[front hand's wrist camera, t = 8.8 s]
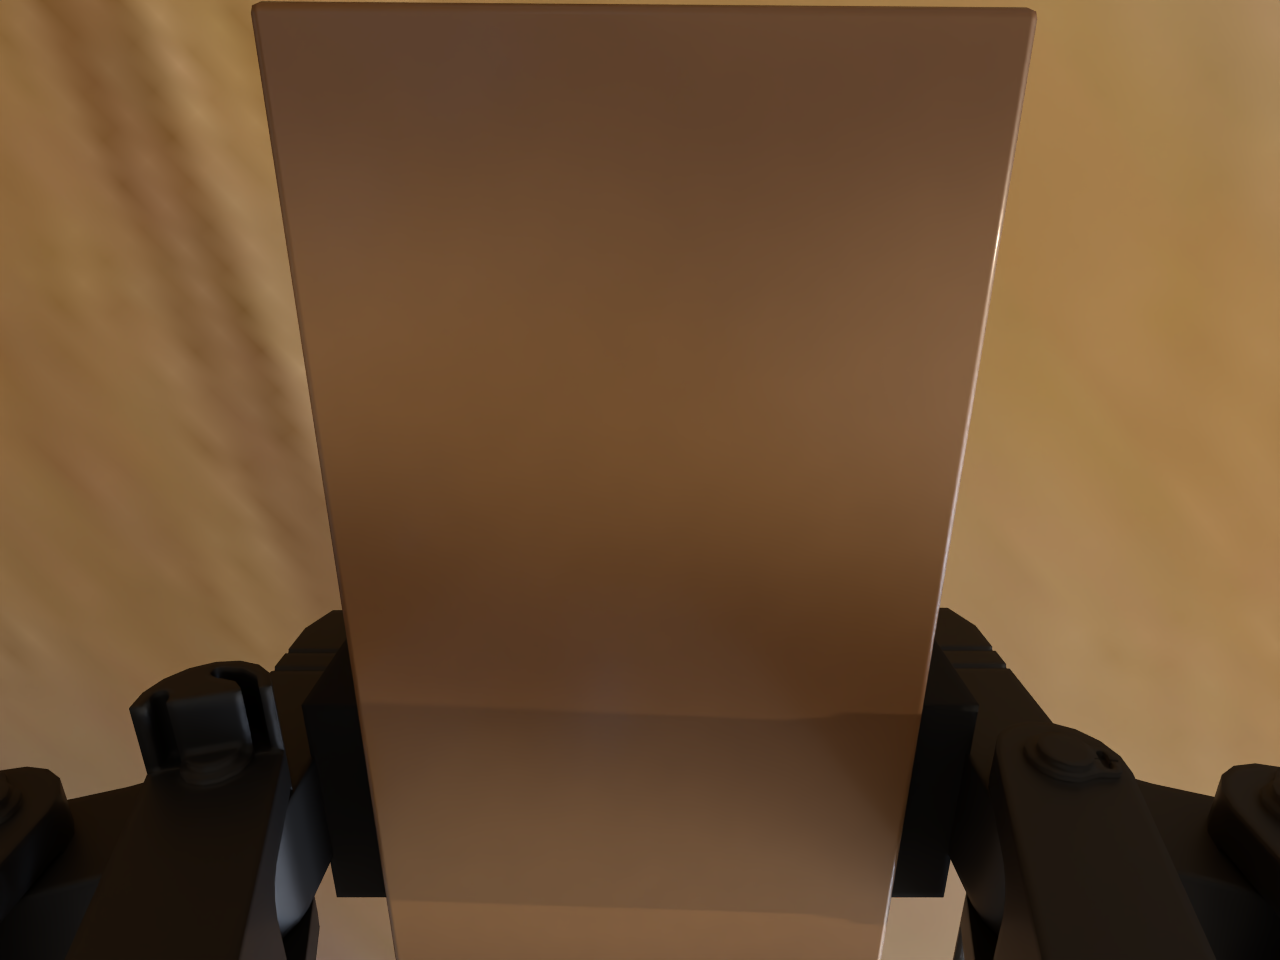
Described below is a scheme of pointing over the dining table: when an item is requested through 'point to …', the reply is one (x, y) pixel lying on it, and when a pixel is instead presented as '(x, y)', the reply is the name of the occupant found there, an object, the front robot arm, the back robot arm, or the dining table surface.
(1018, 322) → the dining table surface
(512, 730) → the beam
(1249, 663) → the dining table surface
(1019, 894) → the front robot arm
